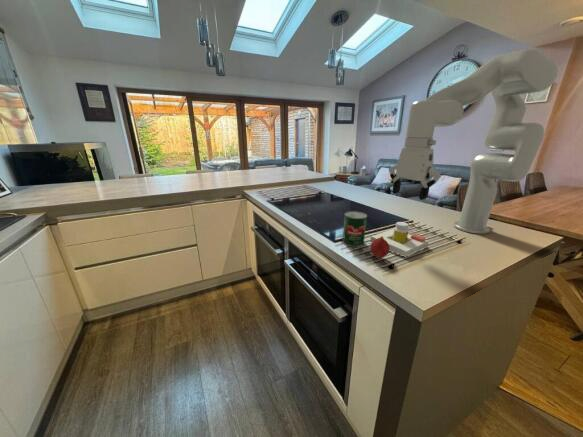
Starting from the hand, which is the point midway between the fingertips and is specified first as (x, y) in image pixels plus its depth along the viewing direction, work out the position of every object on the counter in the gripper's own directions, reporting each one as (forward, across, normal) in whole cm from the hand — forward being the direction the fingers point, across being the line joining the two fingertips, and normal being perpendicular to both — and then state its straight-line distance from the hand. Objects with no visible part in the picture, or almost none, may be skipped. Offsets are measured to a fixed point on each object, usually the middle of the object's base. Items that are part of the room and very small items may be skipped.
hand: (408, 195), depth 81 cm
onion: (+18, -2, +16) cm, 24 cm away
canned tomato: (+18, +11, +13) cm, 25 cm away
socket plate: (+18, 0, +1) cm, 19 cm away
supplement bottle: (+19, 0, +1) cm, 19 cm away
